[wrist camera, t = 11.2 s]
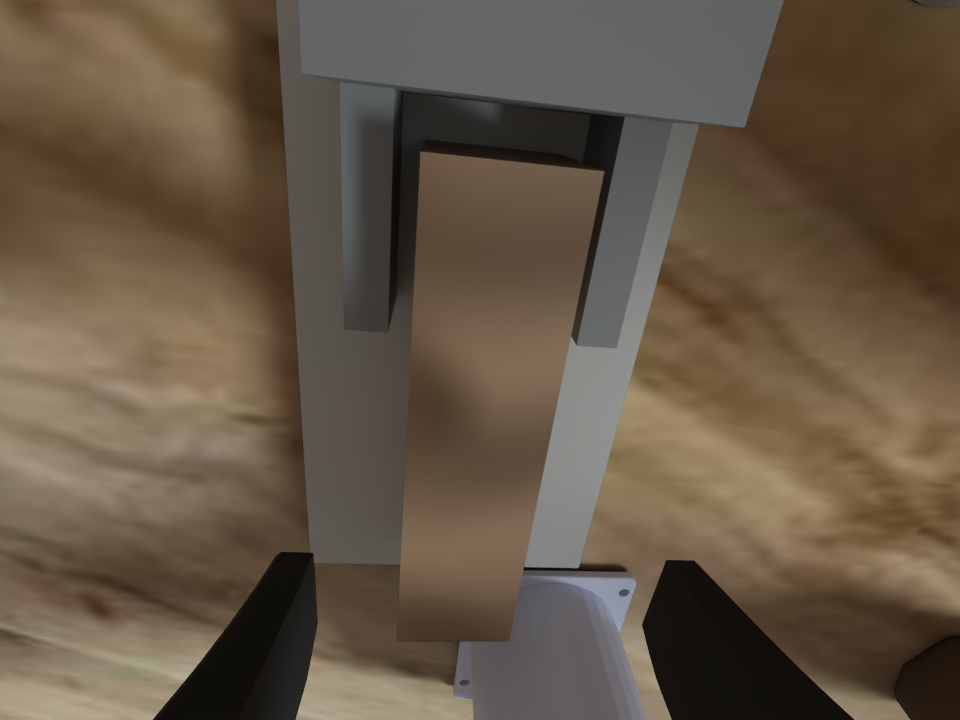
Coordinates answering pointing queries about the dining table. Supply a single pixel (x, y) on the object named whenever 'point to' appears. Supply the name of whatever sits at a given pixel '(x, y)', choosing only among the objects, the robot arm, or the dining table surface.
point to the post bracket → (394, 205)
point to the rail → (485, 375)
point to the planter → (939, 2)
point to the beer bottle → (932, 683)
